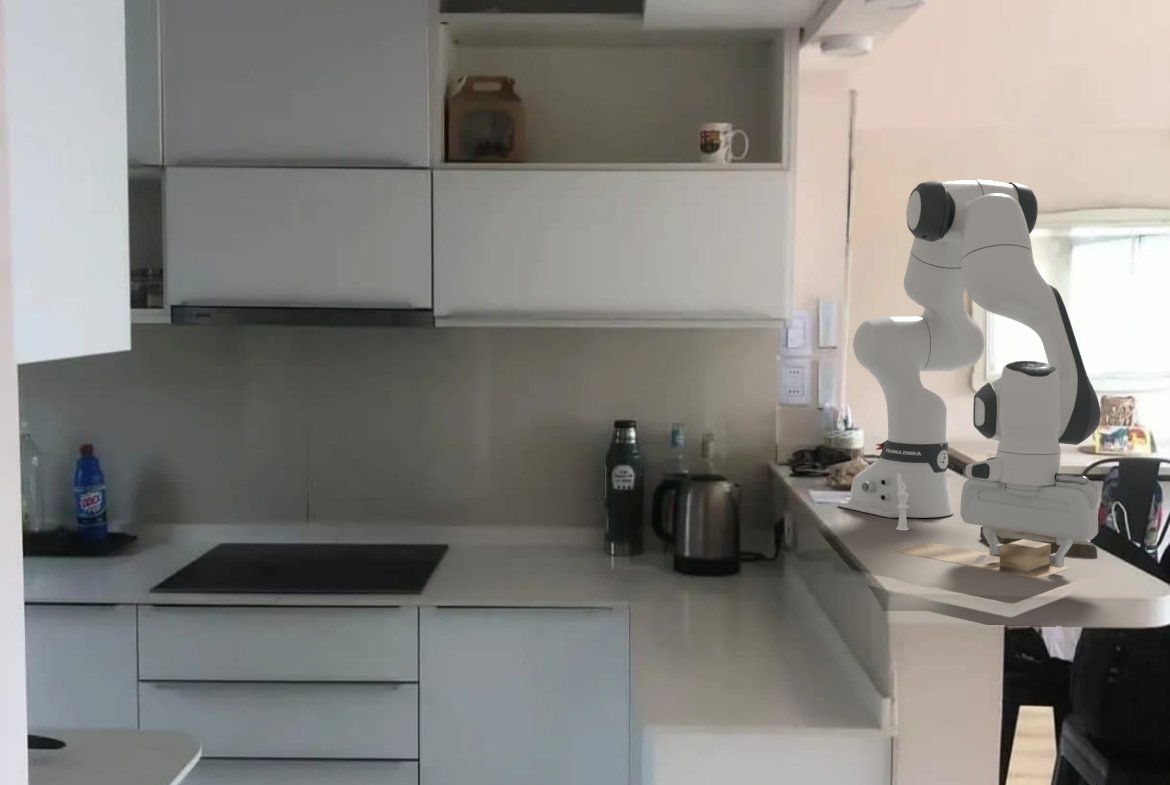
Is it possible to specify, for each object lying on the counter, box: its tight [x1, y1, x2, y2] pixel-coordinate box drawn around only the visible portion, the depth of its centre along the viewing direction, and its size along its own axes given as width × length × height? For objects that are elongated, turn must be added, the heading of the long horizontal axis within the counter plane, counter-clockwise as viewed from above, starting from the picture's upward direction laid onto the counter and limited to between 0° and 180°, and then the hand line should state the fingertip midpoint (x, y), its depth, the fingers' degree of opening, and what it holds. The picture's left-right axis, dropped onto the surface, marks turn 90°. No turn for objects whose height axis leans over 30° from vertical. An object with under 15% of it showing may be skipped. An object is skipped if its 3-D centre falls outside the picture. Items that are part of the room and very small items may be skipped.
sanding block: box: [999, 539, 1051, 574], centre depth 165 cm, size 4×7×4 cm, turn 131°
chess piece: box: [895, 482, 910, 532], centre depth 194 cm, size 5×5×10 cm
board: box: [894, 542, 1070, 580], centre depth 171 cm, size 24×10×2 cm, turn 41°
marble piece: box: [979, 525, 1098, 559], centre depth 181 cm, size 17×15×4 cm
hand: (1025, 561), depth 165 cm, fingers open, 8 cm apart
